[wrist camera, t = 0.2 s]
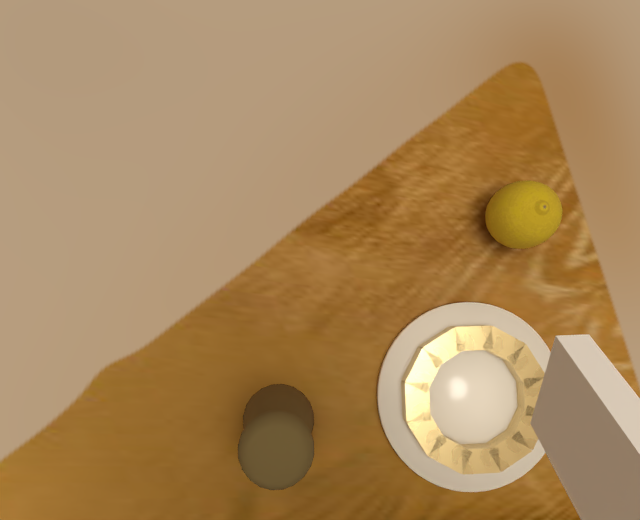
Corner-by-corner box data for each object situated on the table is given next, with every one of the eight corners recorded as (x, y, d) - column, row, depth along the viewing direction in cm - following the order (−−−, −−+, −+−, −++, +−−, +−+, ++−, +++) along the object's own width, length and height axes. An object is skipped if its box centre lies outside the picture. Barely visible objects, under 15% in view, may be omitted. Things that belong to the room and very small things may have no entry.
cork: (231, 438, 46) (213, 480, 35) (261, 372, 47) (253, 393, 36) (295, 468, 47) (298, 519, 36) (325, 401, 47) (337, 432, 36)
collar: (565, 417, 47) (575, 421, 46) (450, 495, 46) (456, 502, 45) (490, 299, 48) (497, 299, 46) (375, 373, 47) (378, 376, 45)
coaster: (591, 422, 48) (597, 424, 47) (441, 525, 47) (443, 529, 46) (493, 267, 49) (497, 267, 48) (341, 365, 47) (342, 366, 47)
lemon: (514, 264, 49) (558, 257, 41) (461, 232, 49) (495, 218, 41) (544, 212, 49) (593, 194, 41) (491, 180, 49) (530, 156, 41)
